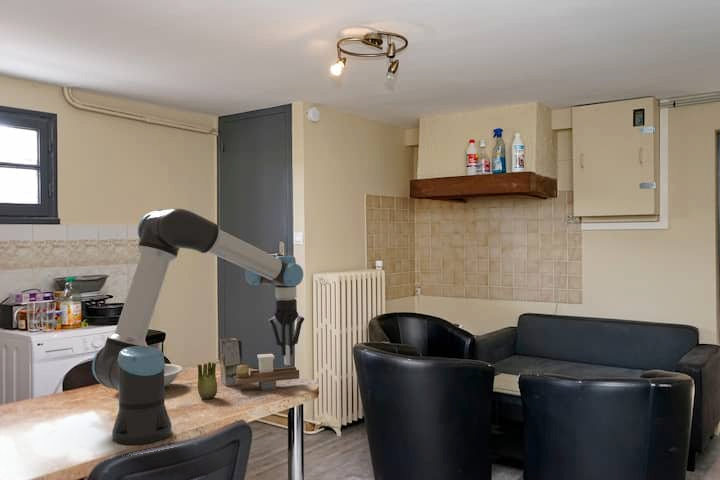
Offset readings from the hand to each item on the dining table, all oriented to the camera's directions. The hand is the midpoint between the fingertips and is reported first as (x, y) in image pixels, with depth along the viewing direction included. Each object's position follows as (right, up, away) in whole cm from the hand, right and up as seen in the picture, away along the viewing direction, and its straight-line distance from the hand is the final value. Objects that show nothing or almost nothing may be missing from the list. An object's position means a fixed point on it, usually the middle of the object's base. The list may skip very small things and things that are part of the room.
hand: (287, 364), depth 214 cm
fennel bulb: (-25, -8, -15) cm, 30 cm away
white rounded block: (-7, -3, -3) cm, 8 cm away
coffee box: (-21, -8, +6) cm, 24 cm away
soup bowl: (-49, -9, -1) cm, 50 cm away
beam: (-7, -8, -3) cm, 11 cm away
